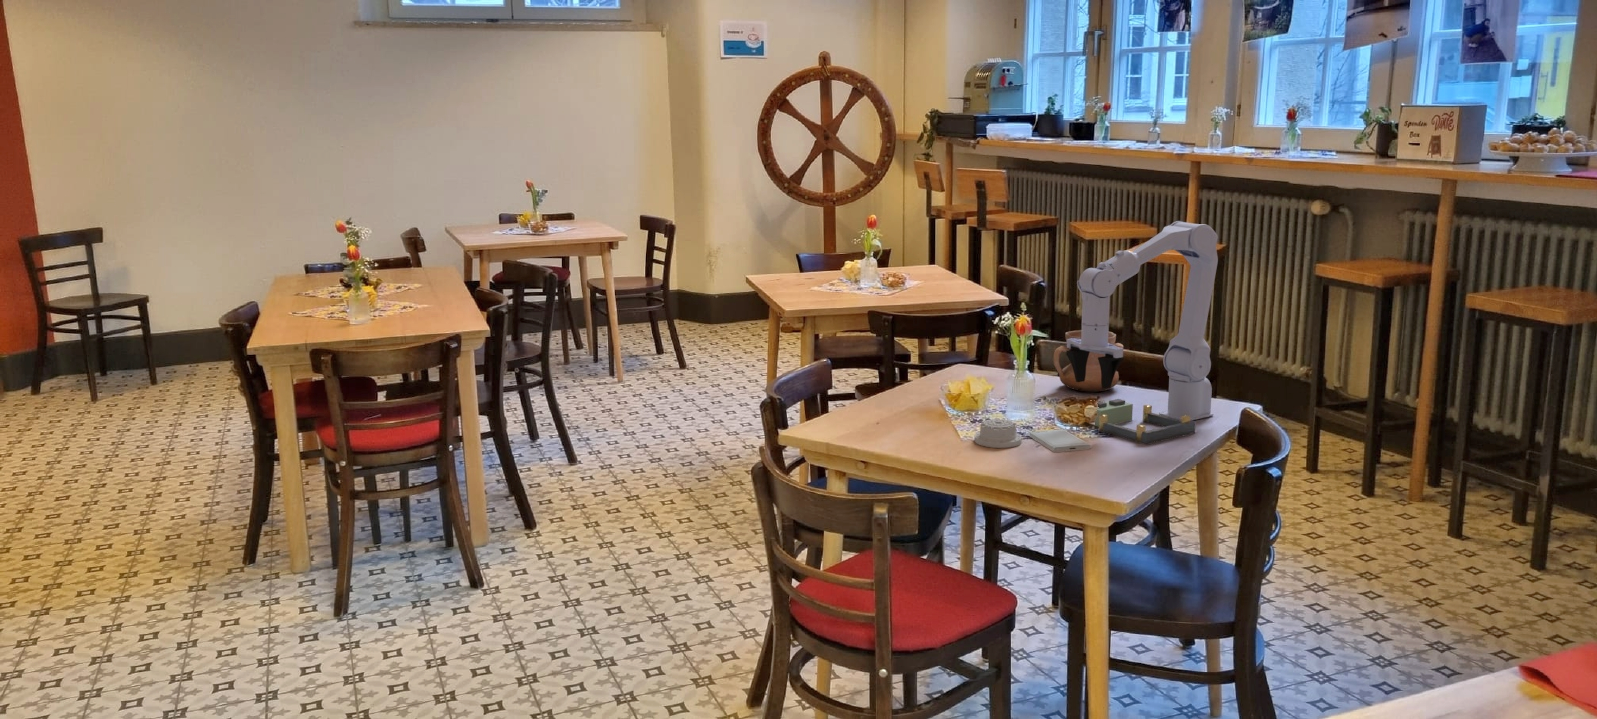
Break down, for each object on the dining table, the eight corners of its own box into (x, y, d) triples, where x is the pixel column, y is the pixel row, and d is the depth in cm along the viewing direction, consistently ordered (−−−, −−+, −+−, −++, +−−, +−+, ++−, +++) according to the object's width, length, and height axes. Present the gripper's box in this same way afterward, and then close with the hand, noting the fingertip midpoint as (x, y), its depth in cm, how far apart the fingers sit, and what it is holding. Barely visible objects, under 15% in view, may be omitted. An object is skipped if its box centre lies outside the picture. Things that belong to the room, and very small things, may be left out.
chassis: (1146, 419, 262) (1147, 404, 262) (1195, 432, 251) (1196, 417, 250) (1096, 430, 254) (1097, 415, 253) (1145, 444, 243) (1146, 428, 242)
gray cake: (1031, 442, 247) (992, 433, 254) (1031, 422, 246) (993, 414, 253) (1003, 452, 240) (964, 443, 247) (1003, 431, 239) (965, 423, 246)
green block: (1115, 416, 266) (1116, 396, 265) (1132, 421, 262) (1132, 400, 261) (1083, 423, 261) (1084, 402, 260) (1100, 428, 257) (1101, 407, 256)
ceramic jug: (1110, 380, 300) (1112, 326, 297) (1132, 393, 286) (1134, 337, 283) (1042, 383, 298) (1044, 329, 295) (1061, 397, 284) (1063, 340, 281)
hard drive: (1029, 431, 251) (1054, 446, 239) (1064, 428, 252) (1091, 443, 240) (1029, 439, 251) (1054, 454, 239) (1064, 436, 253) (1090, 451, 241)
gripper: (1057, 321, 256) (1055, 381, 258) (1107, 330, 244) (1105, 393, 246) (1080, 317, 259) (1078, 376, 262) (1130, 326, 247) (1128, 388, 250)
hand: (1093, 384), depth 255 cm, fingers open, 7 cm apart
